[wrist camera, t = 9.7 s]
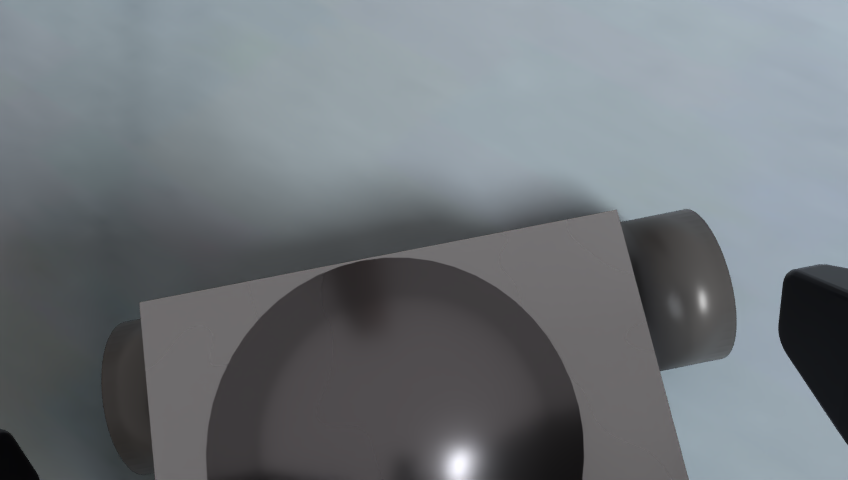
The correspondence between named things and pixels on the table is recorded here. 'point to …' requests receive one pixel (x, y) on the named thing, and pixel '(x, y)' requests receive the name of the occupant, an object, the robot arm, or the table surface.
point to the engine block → (418, 367)
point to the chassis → (655, 277)
